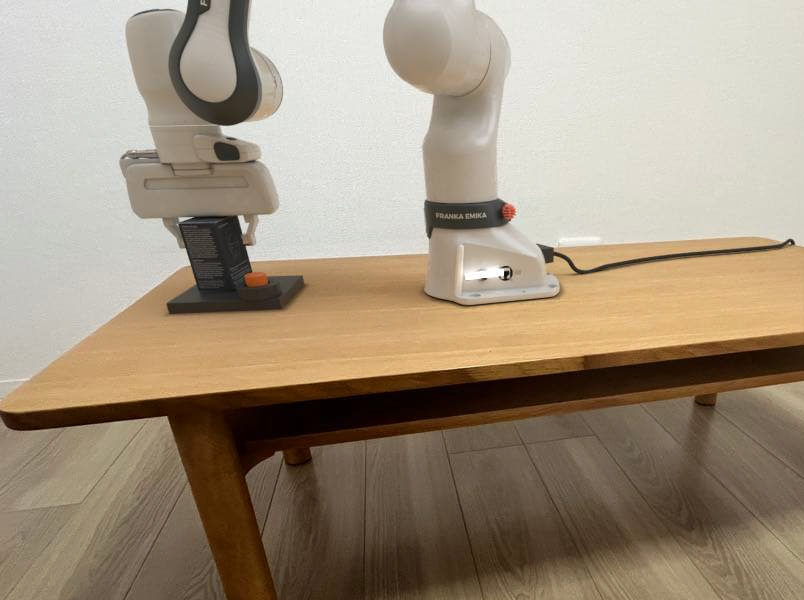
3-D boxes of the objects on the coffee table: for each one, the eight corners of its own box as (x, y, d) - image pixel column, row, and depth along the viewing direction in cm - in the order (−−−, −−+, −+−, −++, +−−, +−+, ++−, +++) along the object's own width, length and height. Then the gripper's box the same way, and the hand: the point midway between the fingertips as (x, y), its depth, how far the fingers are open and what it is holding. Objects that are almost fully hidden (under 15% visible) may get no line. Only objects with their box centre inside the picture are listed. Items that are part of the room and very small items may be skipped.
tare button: (271, 282, 83) (268, 271, 82) (265, 288, 80) (262, 276, 79) (250, 283, 82) (248, 272, 82) (244, 289, 80) (241, 277, 79)
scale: (304, 284, 93) (300, 264, 92) (280, 310, 80) (275, 287, 79) (207, 288, 92) (201, 267, 90) (168, 315, 79) (160, 292, 77)
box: (221, 279, 90) (202, 213, 85) (255, 278, 90) (238, 212, 85) (197, 292, 83) (175, 221, 78) (234, 291, 83) (215, 220, 79)
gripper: (102, 151, 74) (137, 253, 80) (257, 147, 76) (279, 247, 82) (126, 149, 79) (158, 245, 86) (270, 146, 81) (290, 240, 88)
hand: (218, 246), depth 84 cm, fingers open, 8 cm apart
